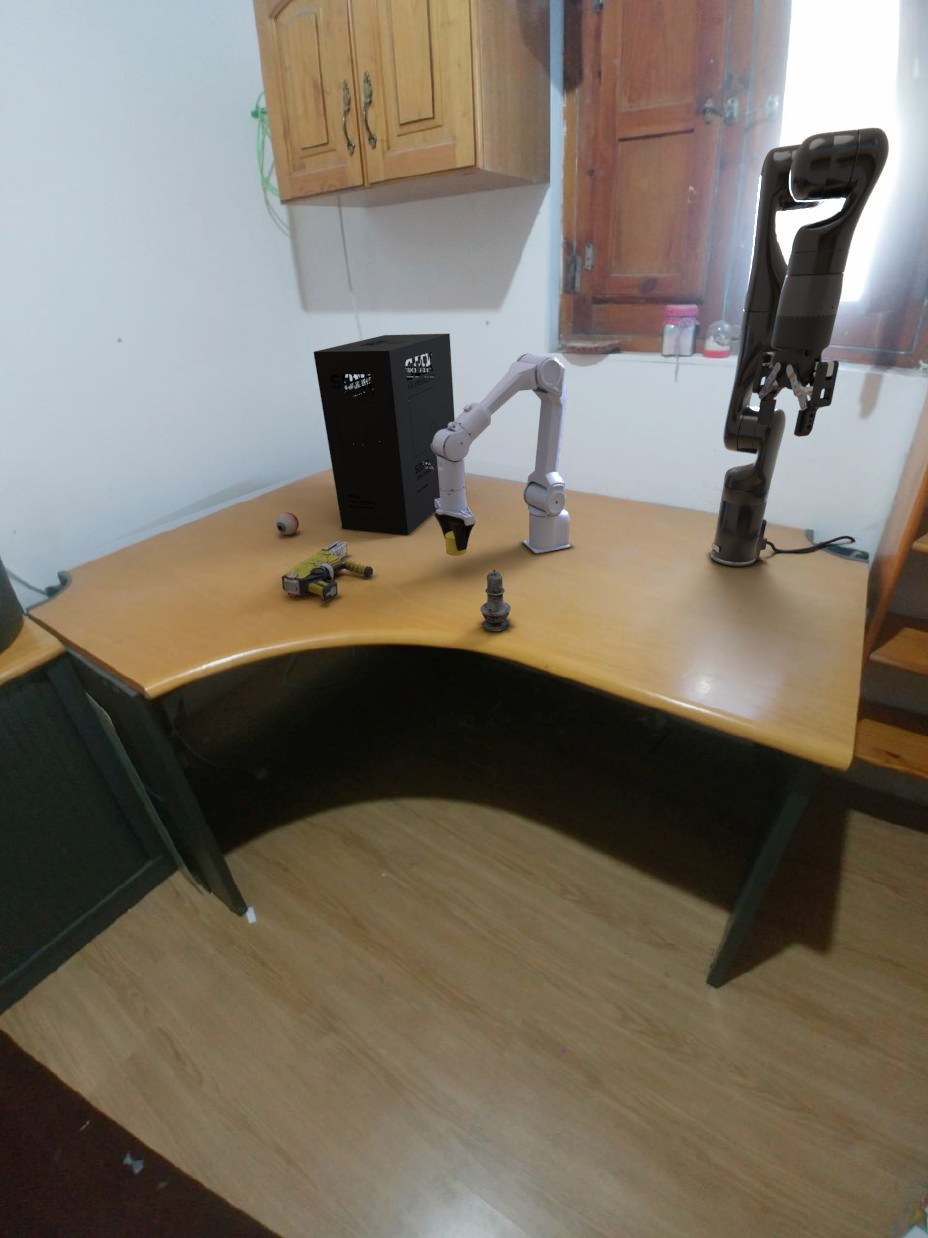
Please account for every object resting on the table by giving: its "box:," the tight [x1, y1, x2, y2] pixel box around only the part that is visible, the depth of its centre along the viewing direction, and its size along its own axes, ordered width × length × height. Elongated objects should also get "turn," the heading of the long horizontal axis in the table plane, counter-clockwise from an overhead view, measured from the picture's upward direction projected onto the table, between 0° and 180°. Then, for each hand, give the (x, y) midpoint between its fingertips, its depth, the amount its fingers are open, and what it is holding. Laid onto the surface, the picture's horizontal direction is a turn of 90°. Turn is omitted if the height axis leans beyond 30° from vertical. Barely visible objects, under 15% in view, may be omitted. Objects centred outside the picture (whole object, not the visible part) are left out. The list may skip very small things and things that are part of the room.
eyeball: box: [275, 511, 300, 536], centre depth 163 cm, size 6×6×6 cm
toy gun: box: [281, 539, 374, 603], centre depth 138 cm, size 5×24×15 cm
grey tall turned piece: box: [479, 568, 512, 632], centre depth 114 cm, size 6×6×12 cm
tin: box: [444, 531, 468, 557], centre depth 136 cm, size 5×5×4 cm
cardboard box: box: [313, 333, 456, 535], centre depth 167 cm, size 38×20×45 cm, turn 159°
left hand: (456, 545), depth 136 cm, fingers closed on tin, 5 cm apart
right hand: (782, 429), depth 92 cm, fingers open, 8 cm apart
